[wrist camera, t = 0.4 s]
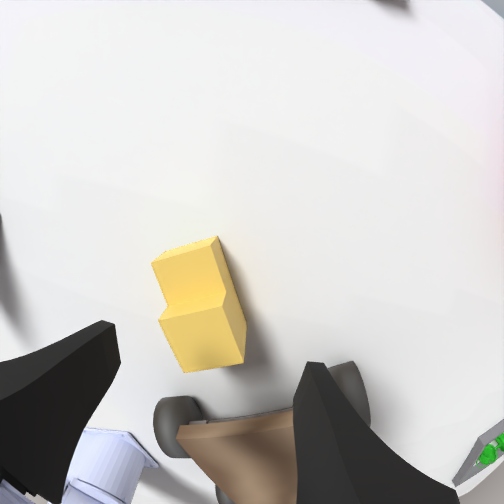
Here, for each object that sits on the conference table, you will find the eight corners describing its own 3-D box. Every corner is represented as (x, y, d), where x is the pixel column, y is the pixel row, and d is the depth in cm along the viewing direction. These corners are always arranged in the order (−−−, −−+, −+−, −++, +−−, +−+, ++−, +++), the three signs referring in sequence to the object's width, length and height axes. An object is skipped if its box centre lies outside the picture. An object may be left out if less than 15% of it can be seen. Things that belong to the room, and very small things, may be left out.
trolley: (234, 481, 27) (227, 569, 13) (165, 384, 22) (111, 519, 8) (357, 459, 25) (380, 549, 11) (347, 347, 21) (414, 501, 6)
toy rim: (452, 480, 32) (455, 487, 29) (478, 437, 27) (484, 445, 24) (514, 437, 30) (518, 442, 27) (544, 382, 24) (549, 388, 22)
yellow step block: (198, 333, 21) (183, 373, 16) (165, 251, 19) (138, 273, 14) (247, 323, 20) (243, 362, 16) (217, 235, 19) (203, 253, 14)
